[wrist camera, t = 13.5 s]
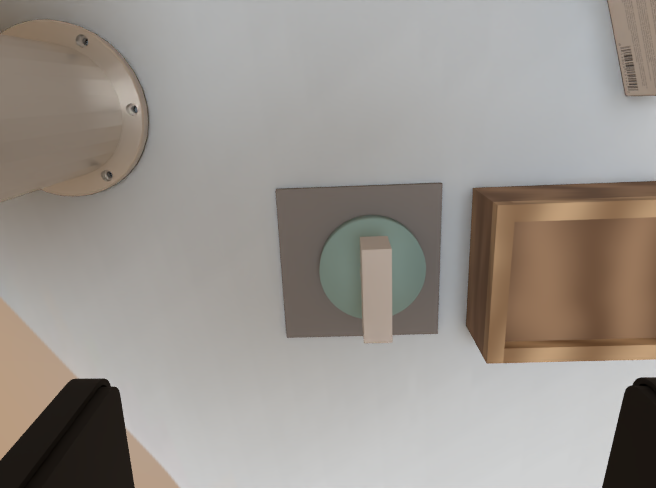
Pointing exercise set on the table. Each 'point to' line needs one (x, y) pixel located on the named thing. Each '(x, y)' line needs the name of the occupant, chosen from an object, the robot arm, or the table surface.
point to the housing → (563, 272)
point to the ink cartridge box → (636, 44)
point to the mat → (318, 224)
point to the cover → (372, 272)
